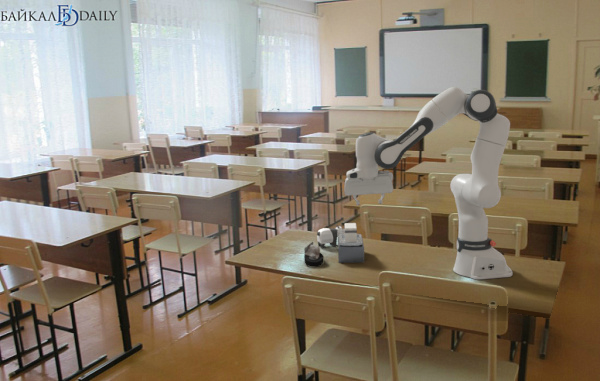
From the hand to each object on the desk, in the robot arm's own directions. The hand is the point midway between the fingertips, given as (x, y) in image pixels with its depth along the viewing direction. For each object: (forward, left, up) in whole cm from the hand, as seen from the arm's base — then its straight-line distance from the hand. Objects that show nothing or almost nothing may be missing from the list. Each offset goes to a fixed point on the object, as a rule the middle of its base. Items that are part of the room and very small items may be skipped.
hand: (369, 204), depth 226 cm
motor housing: (+8, -7, -26) cm, 28 cm away
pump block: (+8, -7, -18) cm, 21 cm away
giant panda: (+17, -23, -26) cm, 39 cm away
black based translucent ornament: (+24, -1, -26) cm, 35 cm away
